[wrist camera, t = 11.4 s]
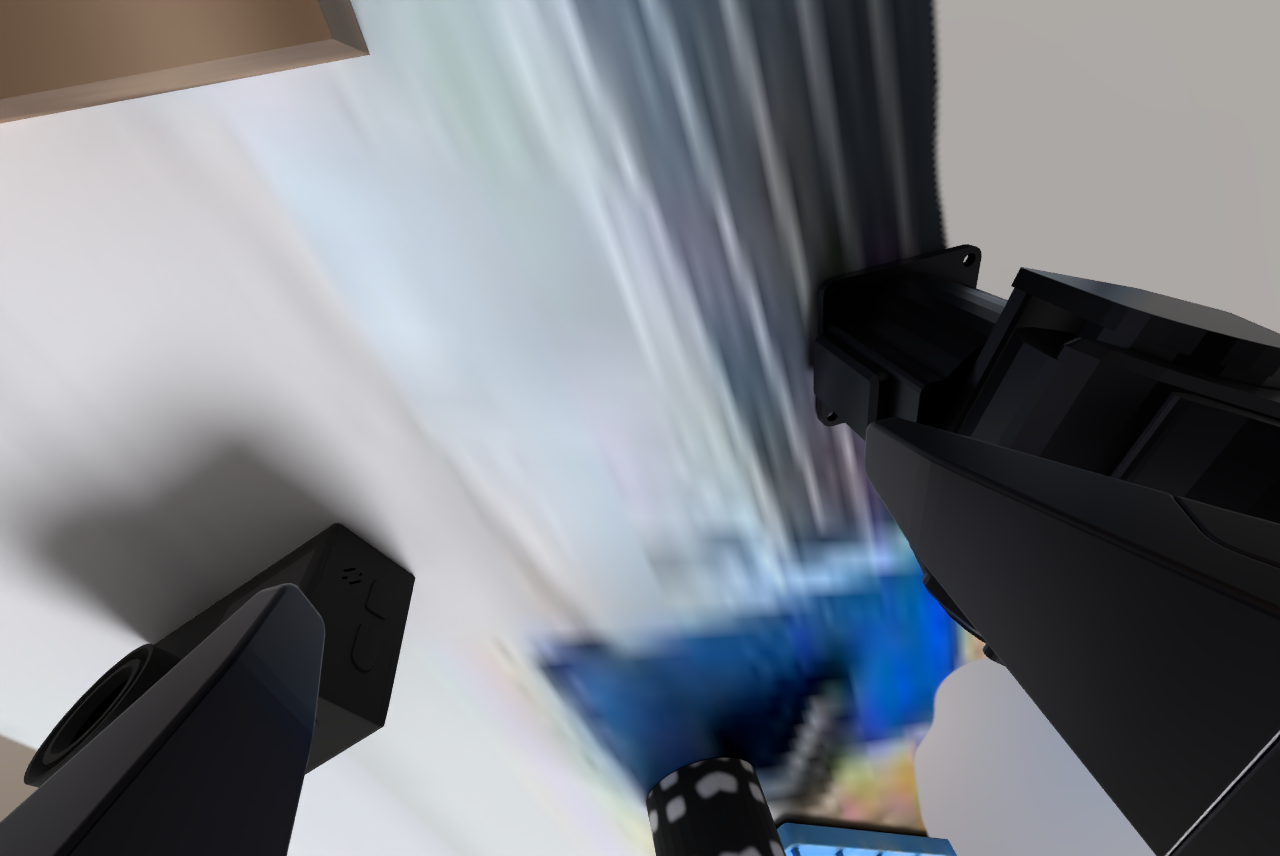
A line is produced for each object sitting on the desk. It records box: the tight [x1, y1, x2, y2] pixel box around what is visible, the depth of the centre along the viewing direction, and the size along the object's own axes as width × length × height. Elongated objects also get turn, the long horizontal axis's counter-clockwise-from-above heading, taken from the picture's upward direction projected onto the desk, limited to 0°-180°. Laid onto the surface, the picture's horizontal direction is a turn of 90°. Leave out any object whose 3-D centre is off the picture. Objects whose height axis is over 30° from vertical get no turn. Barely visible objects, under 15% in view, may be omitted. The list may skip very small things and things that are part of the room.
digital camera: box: [24, 524, 415, 788], centre depth 20 cm, size 10×5×7 cm, turn 121°
